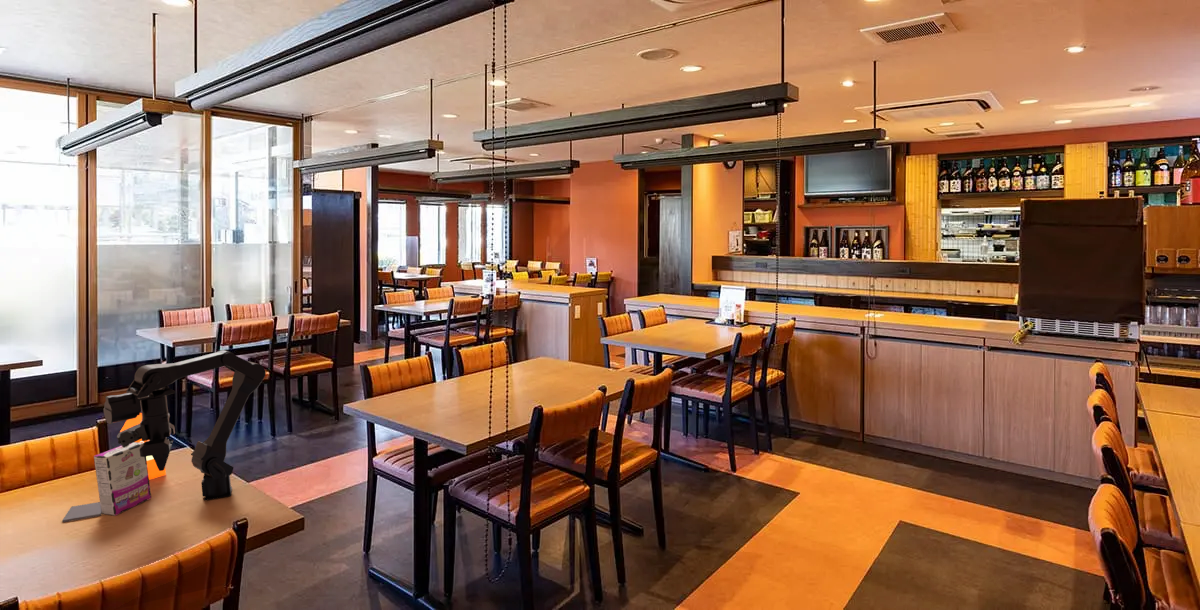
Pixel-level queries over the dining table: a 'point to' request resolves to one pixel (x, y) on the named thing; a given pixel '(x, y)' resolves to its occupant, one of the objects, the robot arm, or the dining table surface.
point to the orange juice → (151, 464)
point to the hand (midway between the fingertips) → (161, 470)
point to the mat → (83, 512)
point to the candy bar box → (122, 478)
